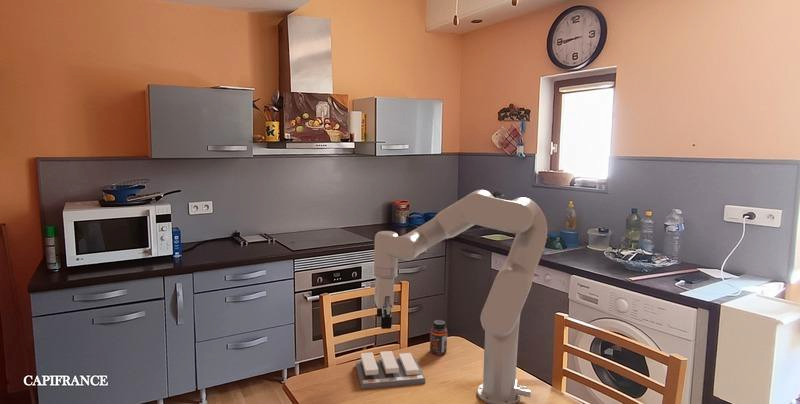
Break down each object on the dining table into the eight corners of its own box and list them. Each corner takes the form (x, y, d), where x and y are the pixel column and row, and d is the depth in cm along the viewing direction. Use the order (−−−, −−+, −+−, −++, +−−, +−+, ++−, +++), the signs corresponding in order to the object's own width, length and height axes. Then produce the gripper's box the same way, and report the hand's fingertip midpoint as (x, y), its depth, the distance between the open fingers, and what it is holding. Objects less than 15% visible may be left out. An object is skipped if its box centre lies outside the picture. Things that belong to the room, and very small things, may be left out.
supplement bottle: (426, 353, 175) (427, 322, 173) (435, 347, 180) (436, 317, 178) (441, 357, 171) (442, 326, 170) (449, 351, 176) (450, 321, 175)
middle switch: (391, 355, 166) (391, 350, 166) (398, 372, 154) (398, 367, 154) (379, 356, 165) (380, 351, 165) (386, 373, 154) (386, 368, 153)
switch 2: (410, 357, 167) (410, 352, 167) (418, 374, 156) (418, 369, 156) (398, 358, 167) (398, 353, 166) (406, 375, 155) (406, 370, 155)
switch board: (414, 361, 169) (414, 356, 168) (425, 383, 154) (425, 377, 154) (355, 365, 164) (355, 361, 164) (361, 388, 150) (361, 383, 150)
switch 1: (372, 356, 165) (372, 352, 164) (378, 374, 153) (378, 369, 153) (360, 357, 164) (360, 353, 164) (365, 375, 152) (365, 370, 152)
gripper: (370, 263, 163) (369, 312, 165) (377, 279, 146) (375, 333, 149) (392, 262, 164) (391, 311, 167) (402, 278, 147) (400, 333, 150)
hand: (383, 322), depth 158 cm, fingers open, 9 cm apart
